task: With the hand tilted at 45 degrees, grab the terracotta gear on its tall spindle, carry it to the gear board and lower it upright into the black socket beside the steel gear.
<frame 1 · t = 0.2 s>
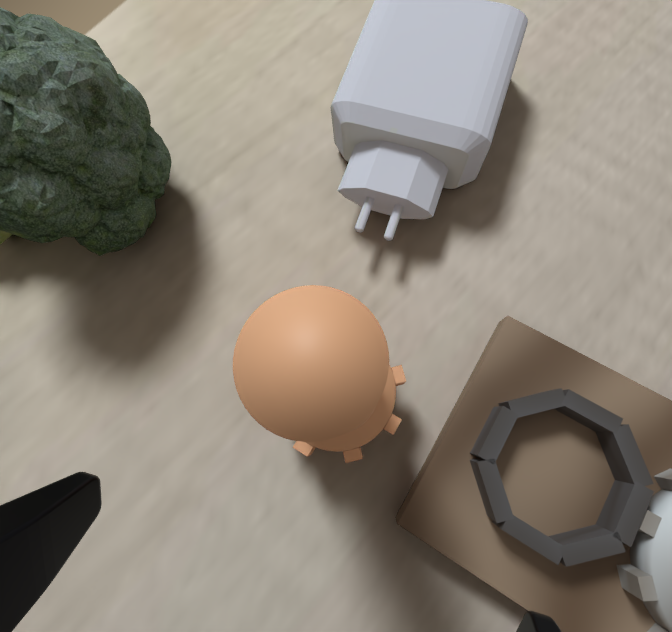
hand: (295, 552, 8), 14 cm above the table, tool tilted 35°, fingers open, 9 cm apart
charger: (407, 153, 27), on the table
gear spindle: (341, 395, 23), on the table
vegetable: (94, 206, 28), on the table
gear board: (612, 510, 20), on the table
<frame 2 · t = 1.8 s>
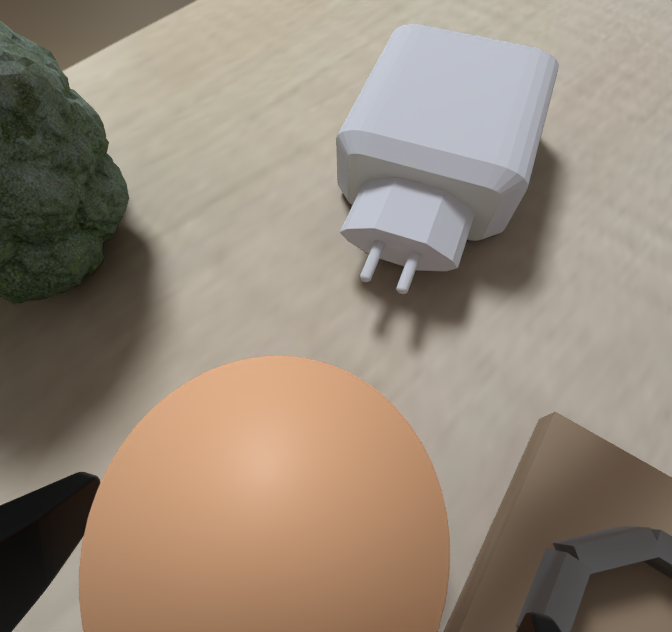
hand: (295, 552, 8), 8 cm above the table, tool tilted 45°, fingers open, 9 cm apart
charger: (421, 201, 23), on the table
gear spindle: (325, 514, 16), on the table
vegetable: (31, 246, 23), on the table
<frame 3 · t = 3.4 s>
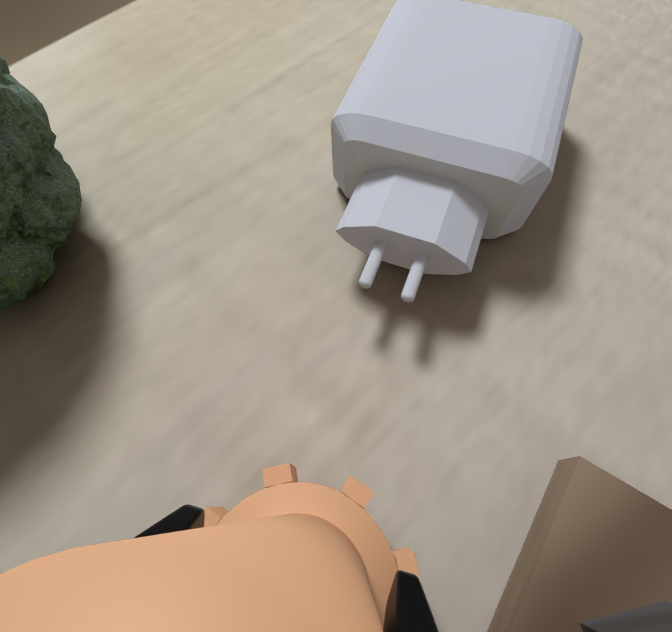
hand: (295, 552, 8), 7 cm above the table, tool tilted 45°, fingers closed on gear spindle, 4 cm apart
charger: (427, 195, 21), on the table
gear spindle: (306, 577, 14), on the table, touching gripper
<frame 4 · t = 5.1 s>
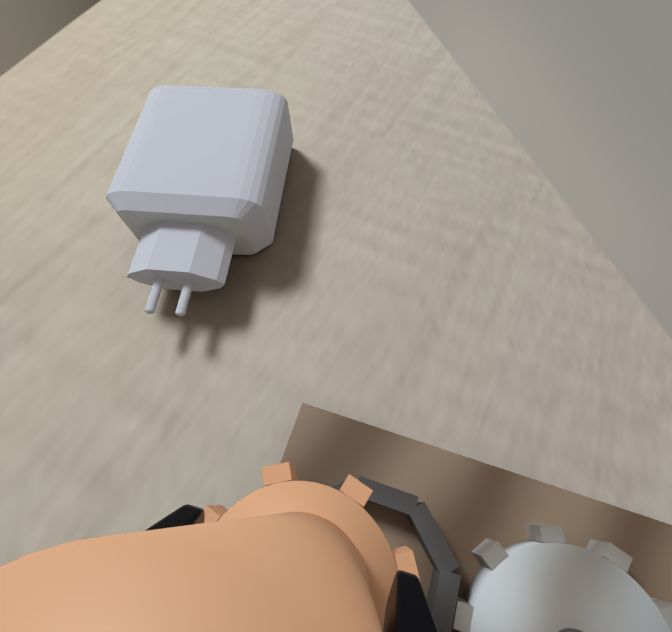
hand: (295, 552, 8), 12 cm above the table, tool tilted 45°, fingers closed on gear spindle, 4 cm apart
charger: (211, 229, 28), on the table
gear spindle: (306, 575, 14), point 6 cm above the table, touching gripper
gear board: (448, 601, 18), on the table
when the fingers open (9 cm above the table, at t = 6.7 s): gear spindle stays where it is, resting on gear board.
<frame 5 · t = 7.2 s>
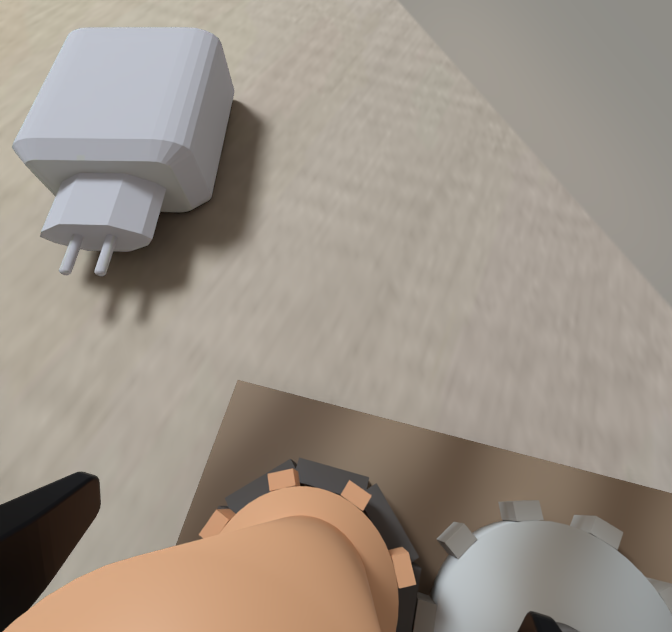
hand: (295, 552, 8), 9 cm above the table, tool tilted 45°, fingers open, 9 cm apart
charger: (145, 189, 25), on the table
gear spindle: (308, 574, 15), point 2 cm above the table, touching gear board
gear board: (414, 599, 15), on the table
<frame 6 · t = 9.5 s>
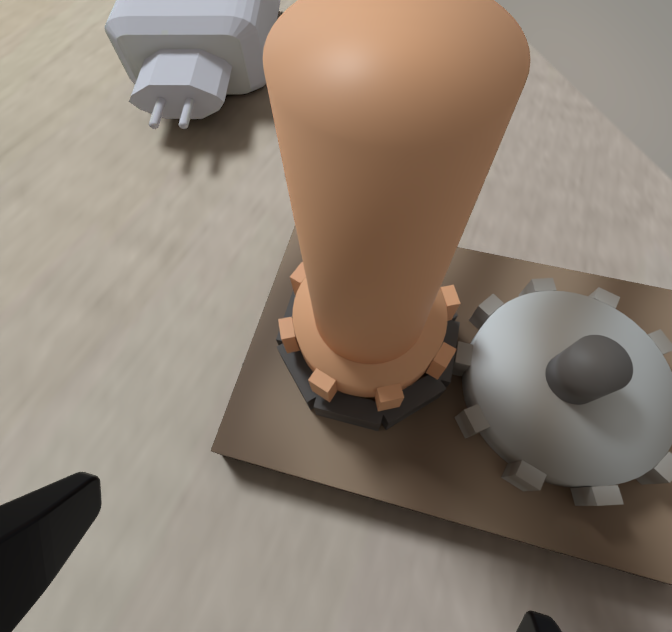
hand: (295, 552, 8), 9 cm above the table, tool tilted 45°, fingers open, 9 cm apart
charger: (206, 81, 29), on the table
gear spindle: (366, 344, 18), point 2 cm above the table, touching gear board
gear board: (450, 375, 19), on the table
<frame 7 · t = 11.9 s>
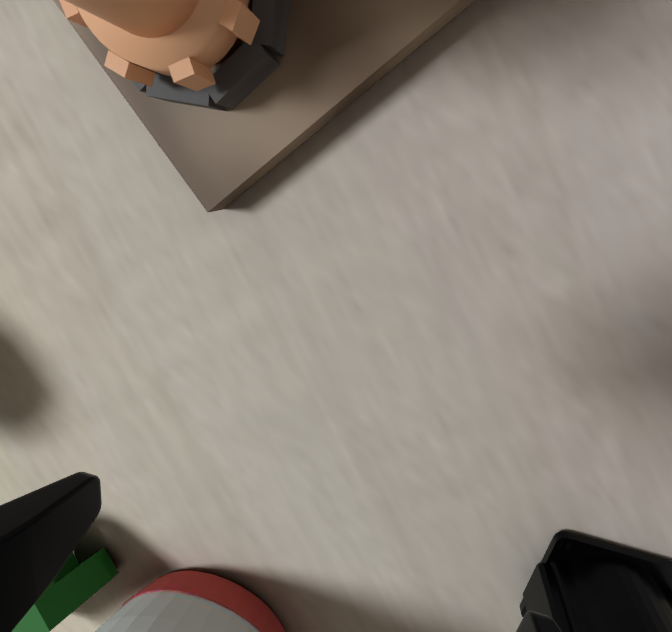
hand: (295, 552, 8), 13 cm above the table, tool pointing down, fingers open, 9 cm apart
gear spindle: (201, 6, 16), point 2 cm above the table, touching gear board
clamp: (60, 552, 32), on the table
citrus juicer: (213, 627, 31), on the table
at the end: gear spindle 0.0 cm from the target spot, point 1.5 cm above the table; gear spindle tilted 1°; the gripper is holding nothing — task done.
